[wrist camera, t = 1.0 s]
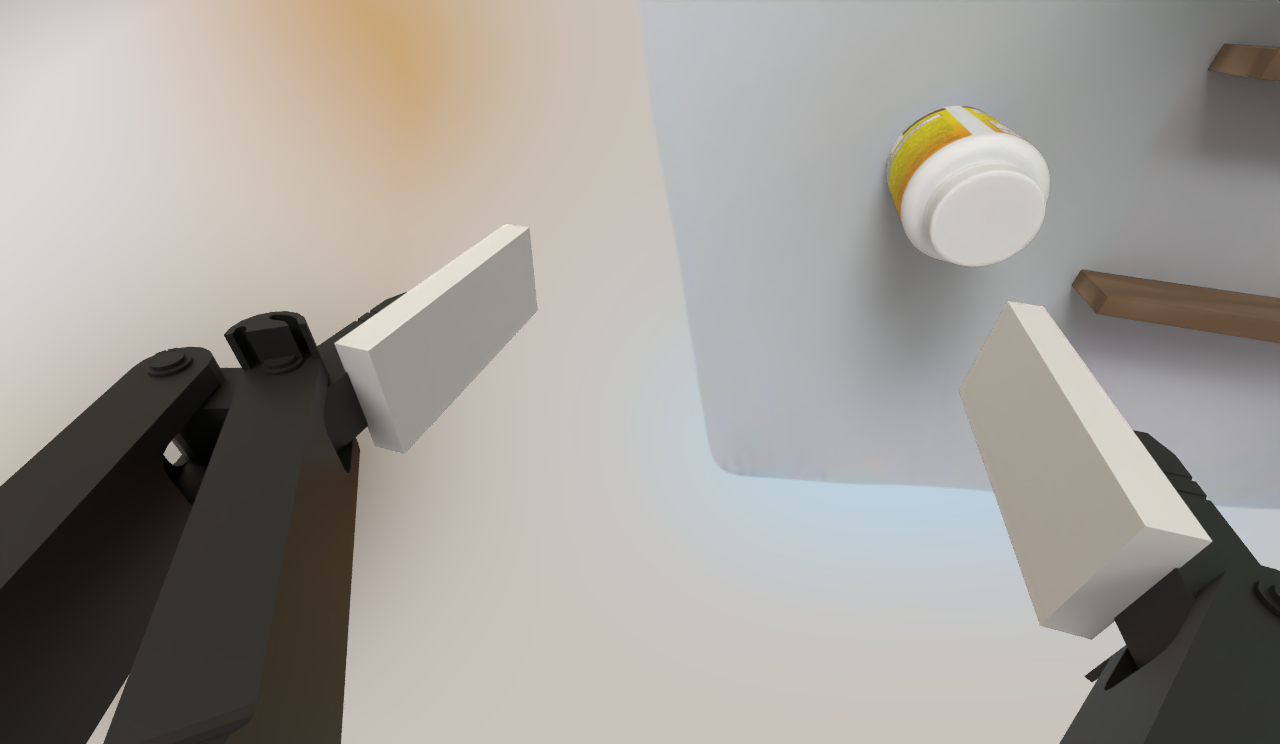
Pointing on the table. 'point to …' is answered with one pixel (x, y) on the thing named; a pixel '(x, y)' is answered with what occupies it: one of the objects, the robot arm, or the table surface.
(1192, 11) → the table surface
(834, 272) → the table surface
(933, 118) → the supplement bottle
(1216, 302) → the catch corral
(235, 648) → the robot arm
